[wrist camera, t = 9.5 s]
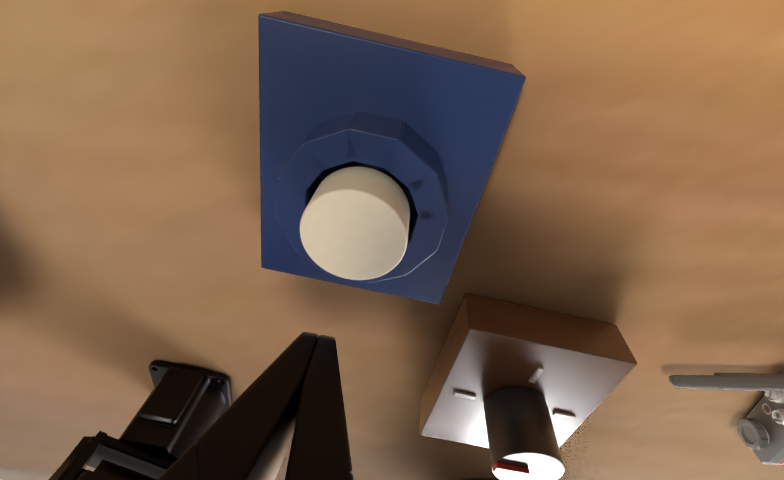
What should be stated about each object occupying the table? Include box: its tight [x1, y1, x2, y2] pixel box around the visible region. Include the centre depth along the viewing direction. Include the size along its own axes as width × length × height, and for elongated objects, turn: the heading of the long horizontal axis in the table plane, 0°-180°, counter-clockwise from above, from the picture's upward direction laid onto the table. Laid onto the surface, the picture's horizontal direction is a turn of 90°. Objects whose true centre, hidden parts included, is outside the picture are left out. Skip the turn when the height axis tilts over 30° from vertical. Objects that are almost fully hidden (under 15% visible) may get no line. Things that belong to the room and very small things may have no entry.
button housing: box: [259, 11, 526, 305], centre depth 17 cm, size 12×10×5 cm
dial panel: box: [420, 294, 637, 448], centre depth 25 cm, size 12×10×3 cm
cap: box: [300, 167, 410, 280], centre depth 14 cm, size 4×4×2 cm
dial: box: [484, 387, 565, 480], centre depth 22 cm, size 4×4×4 cm
